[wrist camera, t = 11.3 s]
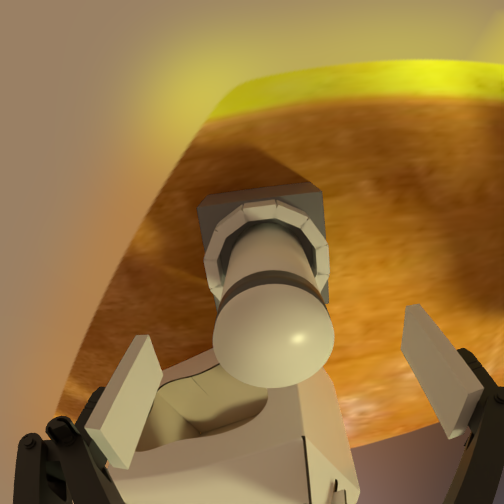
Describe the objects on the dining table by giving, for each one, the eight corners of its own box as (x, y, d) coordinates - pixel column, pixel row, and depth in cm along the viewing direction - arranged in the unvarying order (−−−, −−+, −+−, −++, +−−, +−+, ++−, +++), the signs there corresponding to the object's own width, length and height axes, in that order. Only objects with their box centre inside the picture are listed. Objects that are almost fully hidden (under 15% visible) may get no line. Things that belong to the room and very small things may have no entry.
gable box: (199, 433, 43) (173, 597, 17) (141, 378, 39) (72, 561, 13) (334, 381, 39) (381, 580, 12) (288, 309, 35) (324, 575, 9)
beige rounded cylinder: (306, 286, 27) (334, 380, 16) (236, 294, 28) (224, 392, 16) (300, 218, 25) (333, 282, 14) (225, 227, 26) (200, 297, 14)
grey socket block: (309, 181, 30) (327, 195, 23) (317, 276, 34) (333, 314, 26) (207, 195, 31) (191, 213, 23) (224, 287, 34) (215, 328, 27)
